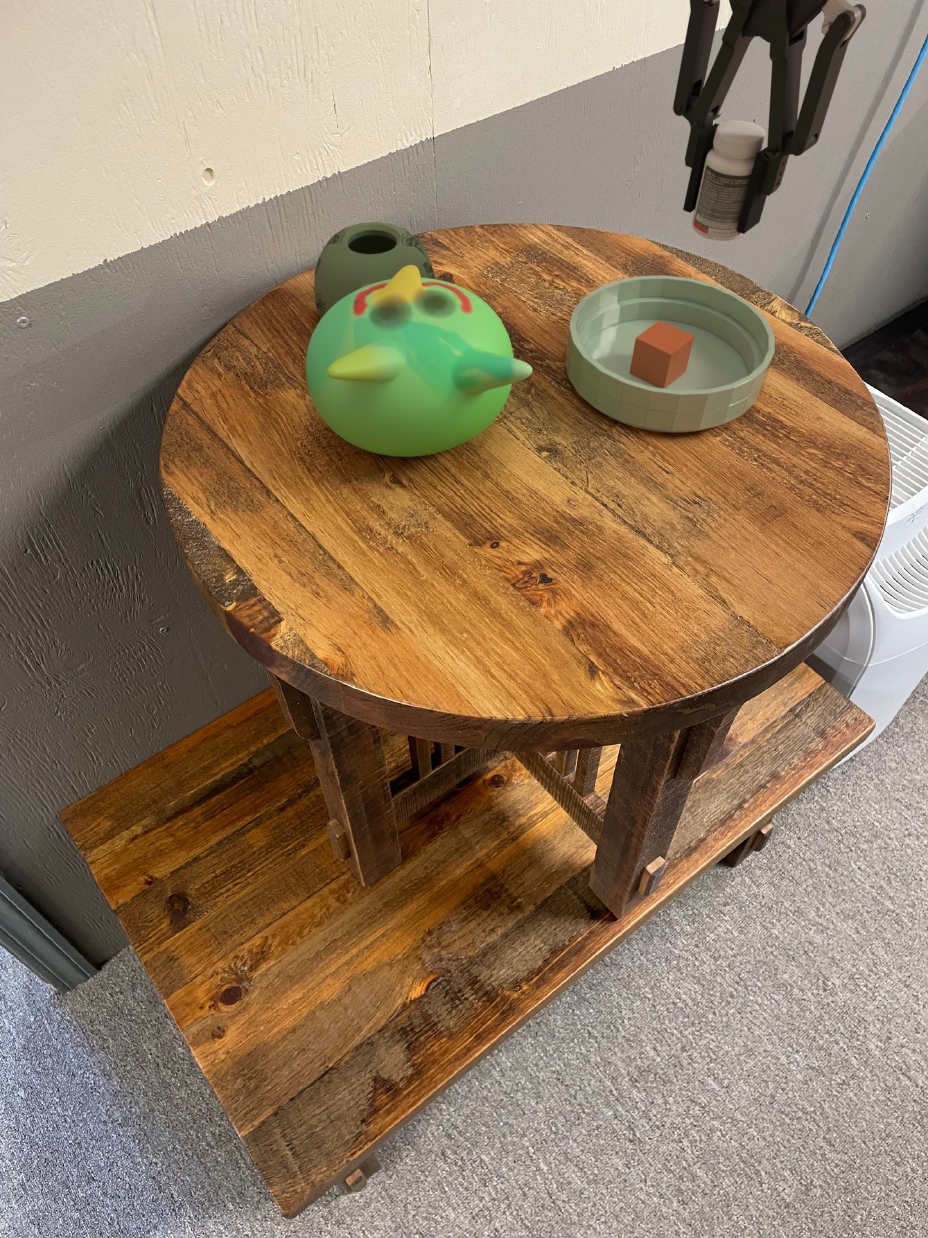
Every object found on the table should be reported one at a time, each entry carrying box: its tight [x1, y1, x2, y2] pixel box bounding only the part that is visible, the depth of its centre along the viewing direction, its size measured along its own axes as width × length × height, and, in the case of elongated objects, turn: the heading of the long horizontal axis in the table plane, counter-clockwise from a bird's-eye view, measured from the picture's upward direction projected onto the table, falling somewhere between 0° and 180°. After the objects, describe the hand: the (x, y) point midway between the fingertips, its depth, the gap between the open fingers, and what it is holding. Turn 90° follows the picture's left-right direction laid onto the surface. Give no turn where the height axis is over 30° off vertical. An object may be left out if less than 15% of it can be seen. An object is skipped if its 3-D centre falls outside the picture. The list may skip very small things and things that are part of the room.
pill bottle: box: [691, 119, 766, 242], centre depth 74 cm, size 5×5×8 cm
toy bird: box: [305, 265, 533, 458], centre depth 74 cm, size 18×17×15 cm
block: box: [629, 320, 694, 389], centre depth 83 cm, size 4×4×4 cm
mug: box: [313, 221, 436, 320], centre depth 87 cm, size 16×13×9 cm
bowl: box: [564, 274, 776, 434], centre depth 84 cm, size 19×19×5 cm
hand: (720, 215), depth 77 cm, fingers closed on pill bottle, 5 cm apart
